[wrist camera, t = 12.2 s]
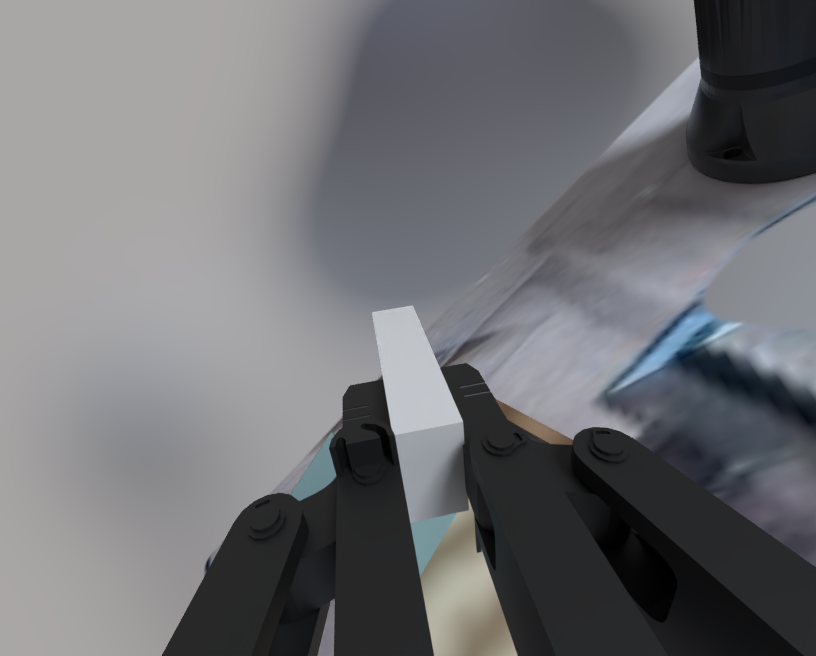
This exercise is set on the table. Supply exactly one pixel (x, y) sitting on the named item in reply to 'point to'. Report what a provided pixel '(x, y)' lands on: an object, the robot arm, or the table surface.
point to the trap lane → (471, 578)
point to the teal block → (423, 531)
